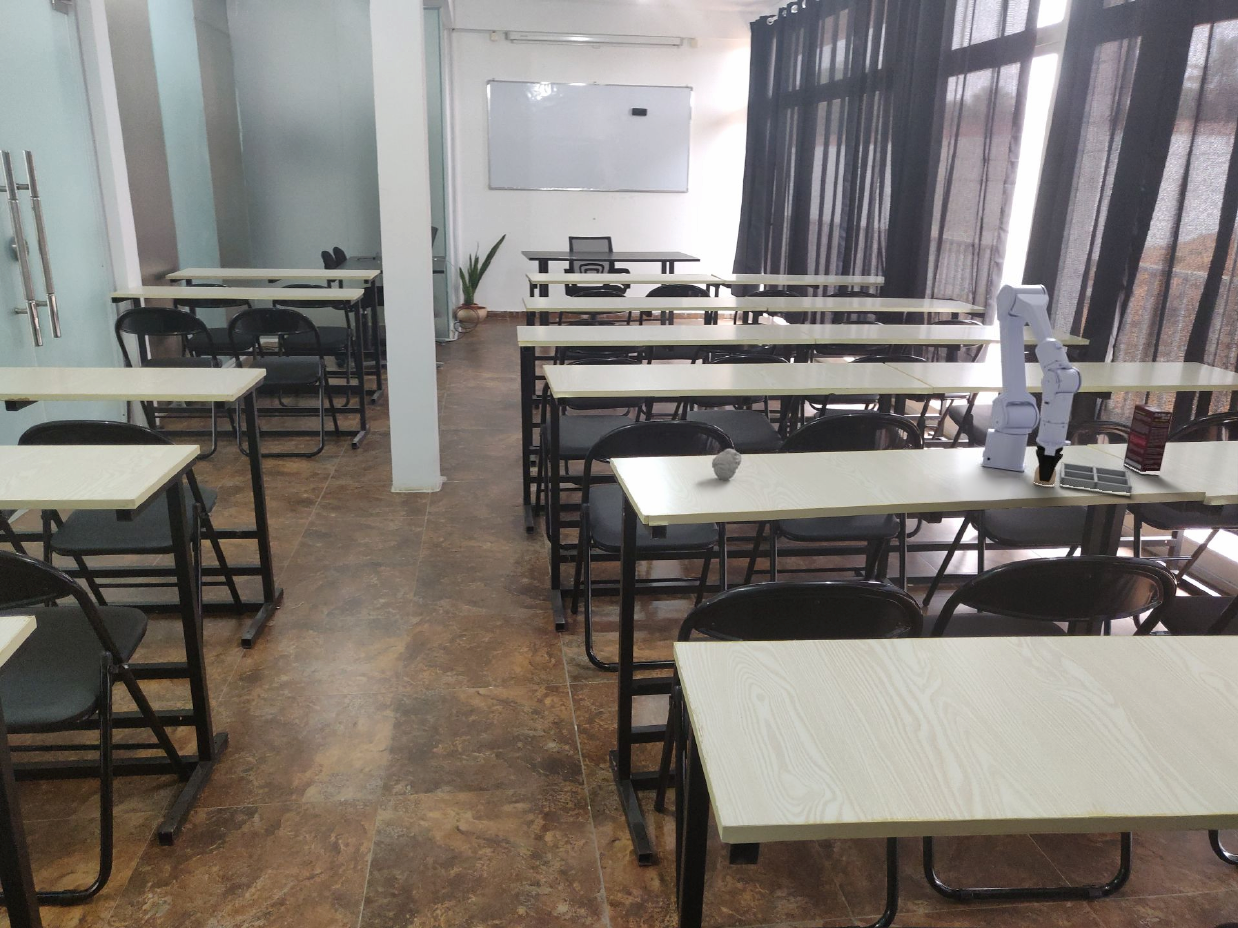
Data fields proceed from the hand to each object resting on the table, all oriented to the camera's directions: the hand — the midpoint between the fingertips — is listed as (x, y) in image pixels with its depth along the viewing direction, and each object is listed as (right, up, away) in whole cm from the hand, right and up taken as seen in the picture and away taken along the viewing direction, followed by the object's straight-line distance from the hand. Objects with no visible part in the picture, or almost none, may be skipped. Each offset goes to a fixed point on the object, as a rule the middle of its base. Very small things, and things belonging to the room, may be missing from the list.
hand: (1044, 478), depth 205 cm
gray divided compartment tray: (+12, -1, +2) cm, 13 cm away
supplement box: (+31, +2, +14) cm, 34 cm away
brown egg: (0, -1, 0) cm, 1 cm away
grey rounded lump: (-74, 0, -3) cm, 74 cm away
